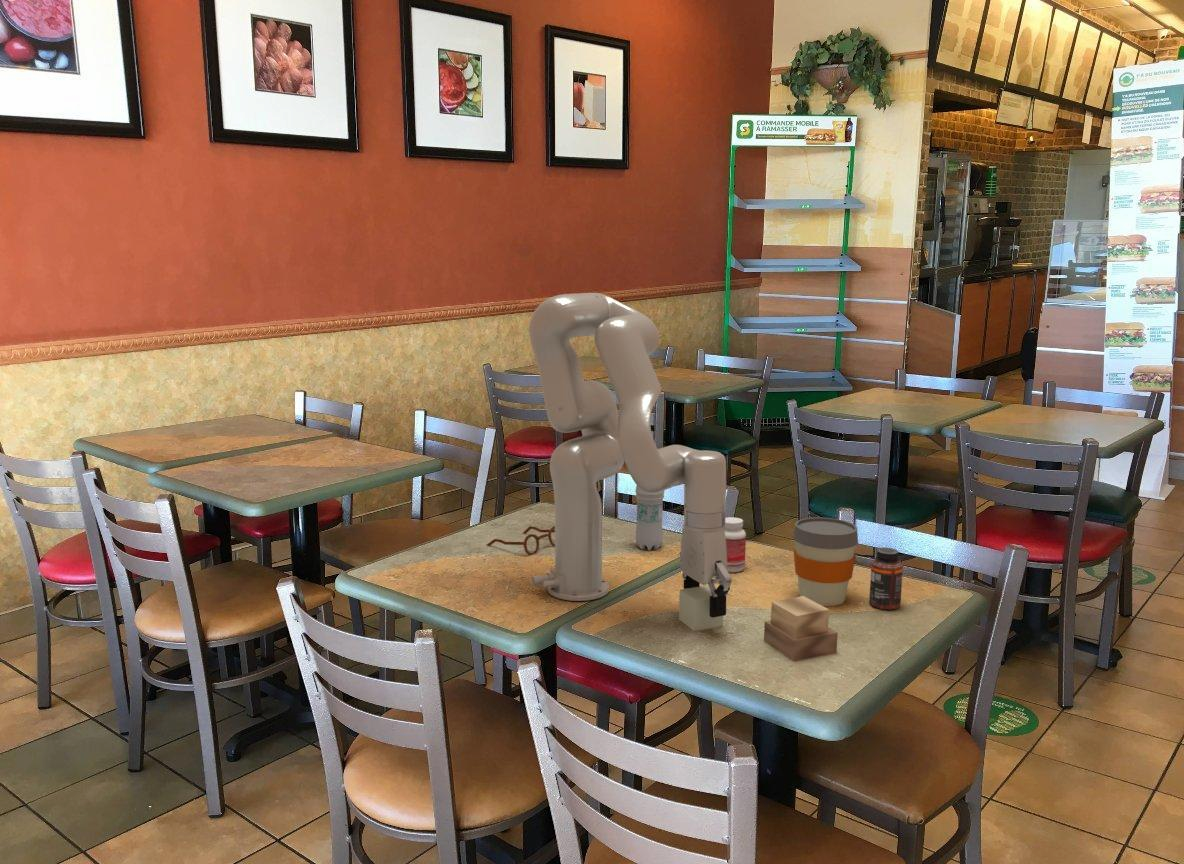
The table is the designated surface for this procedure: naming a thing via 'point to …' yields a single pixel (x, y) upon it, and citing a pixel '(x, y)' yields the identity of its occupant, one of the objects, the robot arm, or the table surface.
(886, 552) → the supplement bottle
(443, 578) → the table surface
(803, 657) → the walnut block
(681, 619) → the sage cube
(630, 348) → the robot arm
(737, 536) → the pill bottle
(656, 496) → the bottle
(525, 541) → the glasses
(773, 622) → the oak block
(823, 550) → the reusable coffee cup
